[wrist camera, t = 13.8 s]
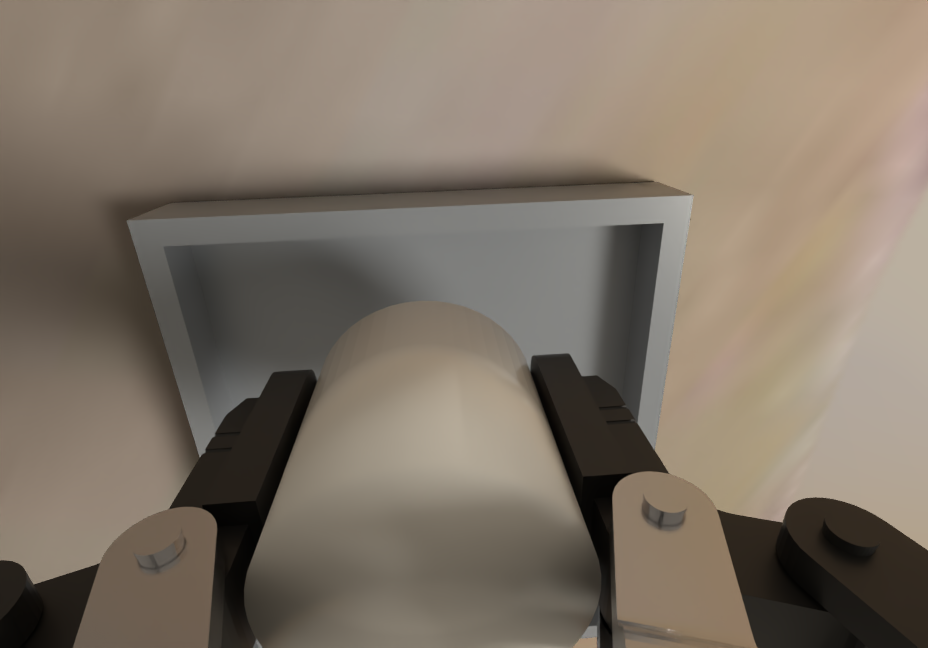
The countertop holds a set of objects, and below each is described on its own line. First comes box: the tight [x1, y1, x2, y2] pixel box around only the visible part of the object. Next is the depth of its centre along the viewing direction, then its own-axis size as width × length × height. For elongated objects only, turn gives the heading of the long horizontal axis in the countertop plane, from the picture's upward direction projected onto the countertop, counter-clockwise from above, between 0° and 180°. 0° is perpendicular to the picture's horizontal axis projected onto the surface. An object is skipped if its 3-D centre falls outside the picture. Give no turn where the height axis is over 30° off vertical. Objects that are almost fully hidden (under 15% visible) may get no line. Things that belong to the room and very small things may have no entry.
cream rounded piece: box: [244, 301, 601, 648], centre depth 8 cm, size 4×4×5 cm
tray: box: [127, 182, 694, 648], centre depth 15 cm, size 15×12×2 cm
